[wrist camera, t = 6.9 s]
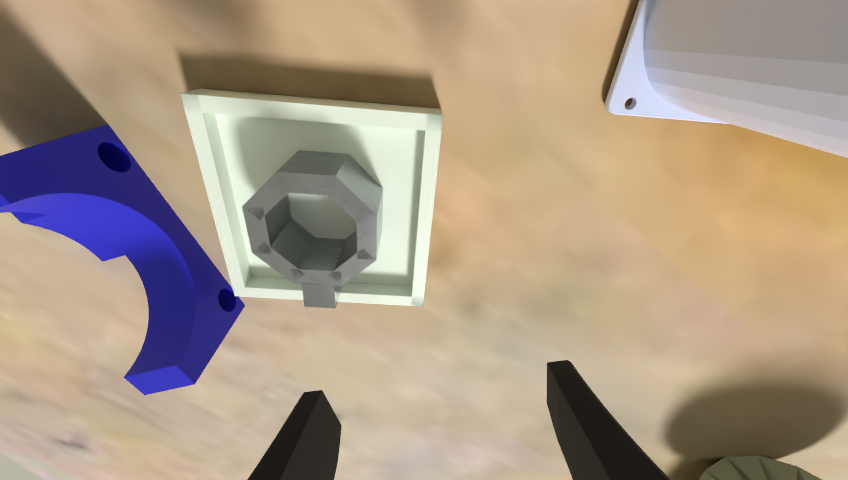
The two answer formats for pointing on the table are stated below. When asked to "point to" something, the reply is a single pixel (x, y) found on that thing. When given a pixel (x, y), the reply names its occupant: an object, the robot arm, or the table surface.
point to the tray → (319, 214)
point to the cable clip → (127, 245)
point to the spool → (754, 470)
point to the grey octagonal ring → (297, 248)
